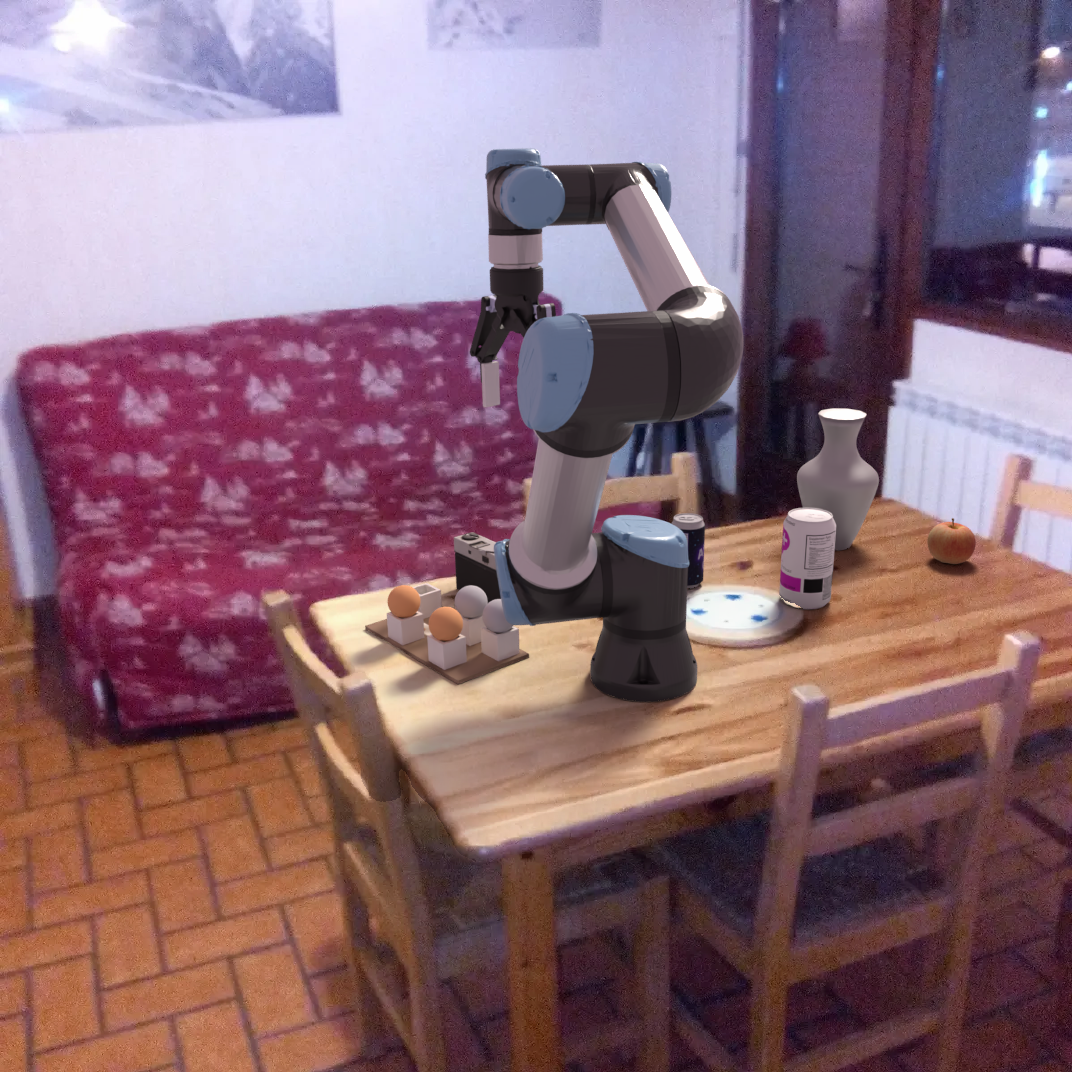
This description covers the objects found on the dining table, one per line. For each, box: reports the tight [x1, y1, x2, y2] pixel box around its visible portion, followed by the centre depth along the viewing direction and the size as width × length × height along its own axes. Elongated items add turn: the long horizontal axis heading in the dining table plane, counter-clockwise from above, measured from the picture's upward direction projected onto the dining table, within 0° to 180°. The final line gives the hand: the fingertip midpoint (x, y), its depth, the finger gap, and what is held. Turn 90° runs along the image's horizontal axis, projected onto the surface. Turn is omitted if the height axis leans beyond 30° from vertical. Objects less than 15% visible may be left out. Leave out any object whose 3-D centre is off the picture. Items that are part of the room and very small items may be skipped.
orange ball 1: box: [387, 584, 421, 618], centre depth 171 cm, size 5×5×5 cm
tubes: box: [386, 582, 520, 670], centre depth 172 cm, size 24×12×4 cm, turn 39°
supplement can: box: [778, 507, 836, 610], centre depth 182 cm, size 8×8×15 cm
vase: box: [796, 407, 880, 551], centre depth 205 cm, size 14×14×25 cm
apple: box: [926, 517, 977, 565], centre depth 199 cm, size 8×8×8 cm
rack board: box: [364, 617, 530, 685], centre depth 172 cm, size 25×13×1 cm, turn 39°
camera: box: [453, 532, 501, 603], centre depth 188 cm, size 14×8×10 cm, turn 38°
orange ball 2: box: [429, 606, 463, 641], centre depth 163 cm, size 5×5×5 cm
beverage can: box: [671, 512, 706, 589], centre depth 190 cm, size 6×6×12 cm
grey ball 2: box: [482, 599, 514, 633], centre depth 165 cm, size 5×5×5 cm
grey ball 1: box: [454, 585, 488, 619], centre depth 170 cm, size 5×5×5 cm
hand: (520, 413), depth 164 cm, fingers open, 13 cm apart
